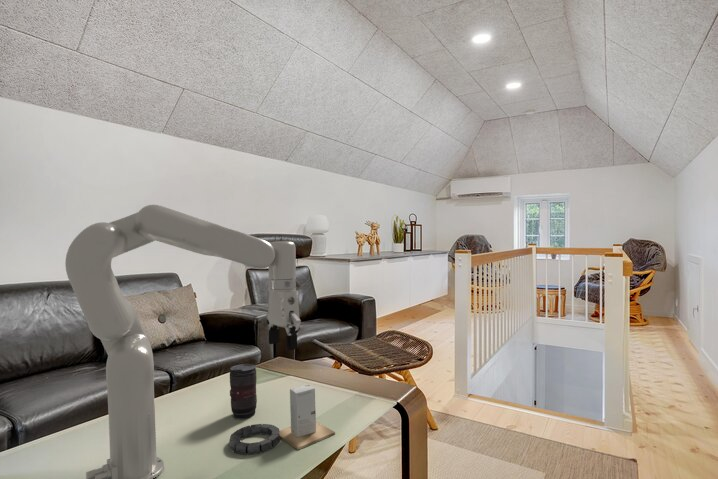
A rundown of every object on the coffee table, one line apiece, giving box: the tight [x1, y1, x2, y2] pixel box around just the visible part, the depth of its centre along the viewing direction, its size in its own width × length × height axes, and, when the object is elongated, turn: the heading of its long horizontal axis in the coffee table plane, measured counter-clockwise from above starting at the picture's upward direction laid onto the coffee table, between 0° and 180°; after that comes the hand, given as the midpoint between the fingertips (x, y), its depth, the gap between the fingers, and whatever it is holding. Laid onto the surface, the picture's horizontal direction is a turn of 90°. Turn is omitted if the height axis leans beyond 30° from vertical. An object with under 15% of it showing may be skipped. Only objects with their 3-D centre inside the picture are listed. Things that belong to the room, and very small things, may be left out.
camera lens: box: [229, 363, 258, 420], centre depth 128 cm, size 8×8×15 cm
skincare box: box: [289, 384, 317, 437], centre depth 114 cm, size 6×4×12 cm
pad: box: [279, 421, 336, 451], centre depth 114 cm, size 12×12×1 cm
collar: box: [228, 423, 281, 456], centre depth 110 cm, size 13×13×2 cm
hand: (282, 346), depth 114 cm, fingers open, 9 cm apart
